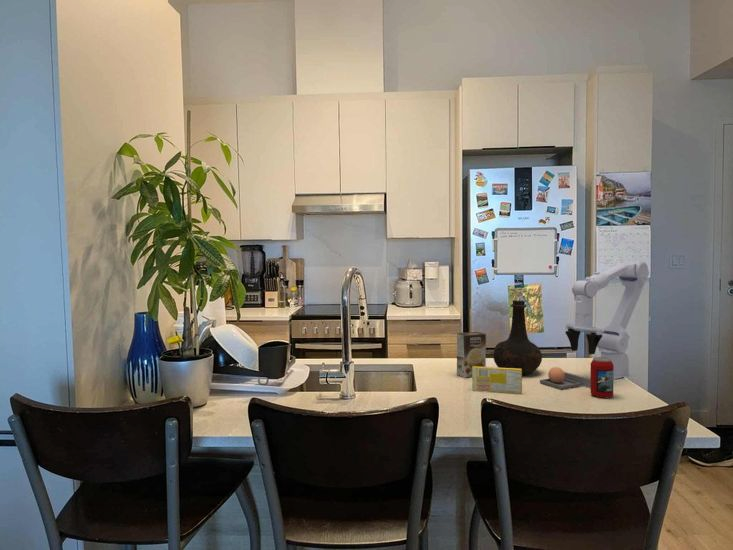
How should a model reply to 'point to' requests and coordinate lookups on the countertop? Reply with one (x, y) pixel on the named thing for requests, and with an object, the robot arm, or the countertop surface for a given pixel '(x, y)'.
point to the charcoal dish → (561, 384)
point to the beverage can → (602, 377)
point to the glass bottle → (518, 345)
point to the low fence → (578, 379)
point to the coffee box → (470, 352)
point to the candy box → (497, 379)
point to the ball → (556, 375)
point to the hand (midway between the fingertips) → (583, 352)
